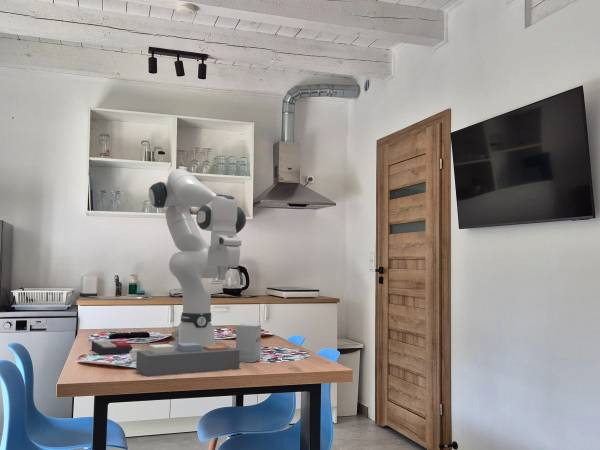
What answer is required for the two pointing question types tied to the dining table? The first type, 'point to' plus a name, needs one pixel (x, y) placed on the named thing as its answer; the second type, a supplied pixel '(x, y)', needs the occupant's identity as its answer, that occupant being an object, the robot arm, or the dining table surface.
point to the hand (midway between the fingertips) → (221, 279)
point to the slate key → (188, 347)
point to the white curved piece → (133, 354)
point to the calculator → (111, 347)
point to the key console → (186, 361)
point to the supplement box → (248, 342)
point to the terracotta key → (215, 347)
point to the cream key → (161, 349)
